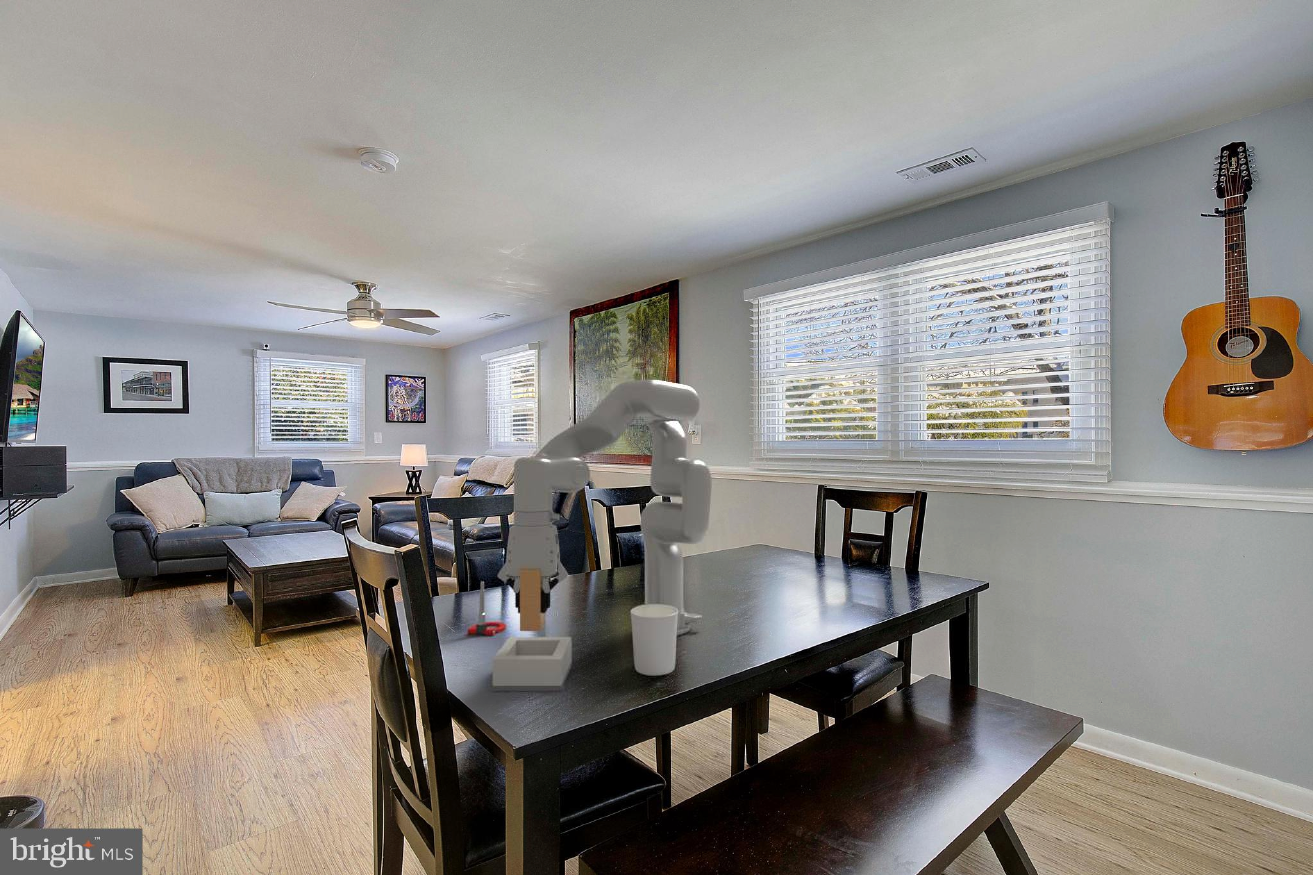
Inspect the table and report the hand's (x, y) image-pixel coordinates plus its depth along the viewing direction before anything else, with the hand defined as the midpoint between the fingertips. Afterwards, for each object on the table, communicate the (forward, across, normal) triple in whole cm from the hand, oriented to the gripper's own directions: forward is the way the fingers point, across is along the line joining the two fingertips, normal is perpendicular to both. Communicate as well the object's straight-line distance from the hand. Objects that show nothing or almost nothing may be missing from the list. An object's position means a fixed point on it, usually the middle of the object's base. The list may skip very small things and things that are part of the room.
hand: (532, 610), depth 124 cm
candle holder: (+13, -24, -5) cm, 28 cm away
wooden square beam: (+3, 0, 0) cm, 3 cm away
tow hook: (+14, +18, -31) cm, 39 cm away
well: (+13, 0, 0) cm, 13 cm away
